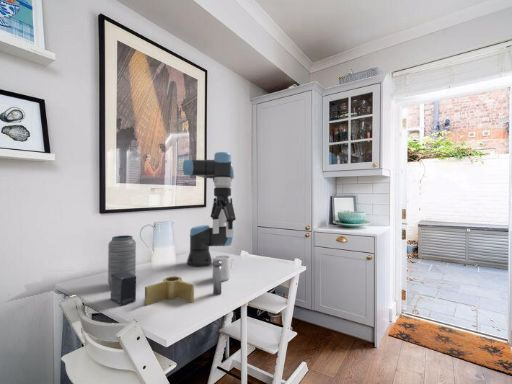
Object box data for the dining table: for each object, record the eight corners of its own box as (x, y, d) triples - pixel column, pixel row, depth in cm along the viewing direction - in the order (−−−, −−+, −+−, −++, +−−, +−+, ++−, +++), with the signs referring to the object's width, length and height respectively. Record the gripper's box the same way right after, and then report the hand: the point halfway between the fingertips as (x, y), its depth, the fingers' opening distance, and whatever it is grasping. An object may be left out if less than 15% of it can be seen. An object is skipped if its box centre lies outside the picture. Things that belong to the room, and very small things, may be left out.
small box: (137, 301, 109) (137, 275, 109) (120, 306, 104) (120, 279, 104) (126, 294, 116) (126, 270, 116) (109, 299, 111) (110, 273, 111)
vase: (105, 284, 128) (105, 236, 128) (131, 279, 136) (131, 234, 136) (111, 291, 119) (111, 239, 120) (138, 285, 127) (139, 237, 127)
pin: (212, 292, 119) (212, 260, 120) (221, 291, 120) (221, 260, 120) (212, 295, 115) (212, 262, 116) (222, 295, 116) (222, 262, 116)
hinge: (151, 293, 117) (151, 277, 117) (195, 291, 121) (195, 275, 121) (144, 305, 105) (144, 287, 105) (193, 302, 108) (193, 285, 108)
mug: (220, 283, 132) (220, 260, 132) (208, 279, 138) (209, 257, 138) (237, 277, 141) (237, 256, 141) (226, 273, 147) (226, 253, 147)
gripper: (203, 188, 129) (203, 232, 128) (227, 186, 108) (227, 239, 107) (218, 188, 133) (218, 231, 132) (243, 186, 112) (243, 237, 111)
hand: (222, 235), depth 120 cm, fingers open, 13 cm apart
